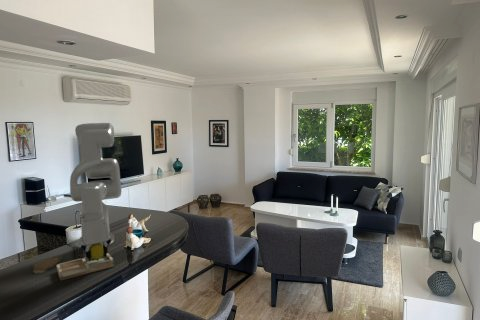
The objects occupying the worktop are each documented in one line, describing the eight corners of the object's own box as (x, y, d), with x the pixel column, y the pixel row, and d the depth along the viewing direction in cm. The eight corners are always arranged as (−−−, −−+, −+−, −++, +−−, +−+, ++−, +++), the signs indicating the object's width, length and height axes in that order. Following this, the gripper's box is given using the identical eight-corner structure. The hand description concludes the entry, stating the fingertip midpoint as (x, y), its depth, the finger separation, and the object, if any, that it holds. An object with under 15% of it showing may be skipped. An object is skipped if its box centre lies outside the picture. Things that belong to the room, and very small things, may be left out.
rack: (57, 271, 138) (56, 264, 138) (107, 258, 150) (107, 252, 149) (60, 280, 130) (59, 273, 130) (114, 266, 141) (113, 259, 141)
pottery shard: (49, 276, 138) (63, 258, 153) (48, 270, 138) (63, 253, 152) (27, 278, 137) (44, 260, 152) (26, 272, 137) (43, 254, 151)
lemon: (92, 264, 138) (90, 245, 138) (89, 260, 143) (87, 242, 142) (106, 260, 142) (104, 242, 141) (102, 256, 146) (101, 238, 145)
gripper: (72, 221, 132) (76, 266, 134) (117, 213, 142) (120, 254, 144) (69, 217, 138) (73, 260, 140) (112, 210, 148) (115, 249, 150)
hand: (97, 257), depth 142 cm, fingers closed on lemon, 5 cm apart
